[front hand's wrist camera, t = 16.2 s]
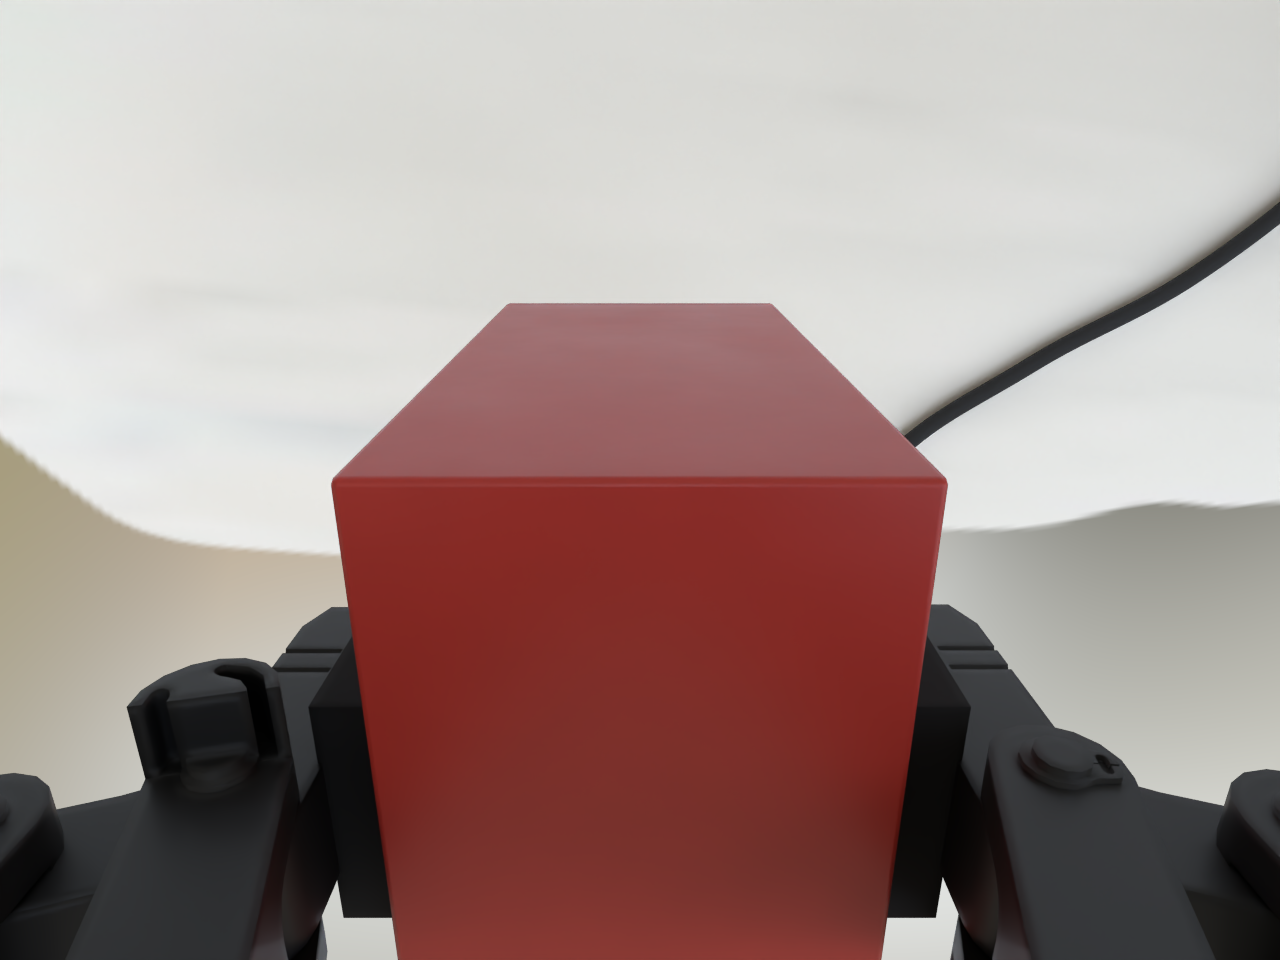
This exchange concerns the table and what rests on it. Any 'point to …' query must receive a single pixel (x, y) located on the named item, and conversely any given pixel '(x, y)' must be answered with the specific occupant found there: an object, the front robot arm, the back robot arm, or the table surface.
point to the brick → (639, 640)
